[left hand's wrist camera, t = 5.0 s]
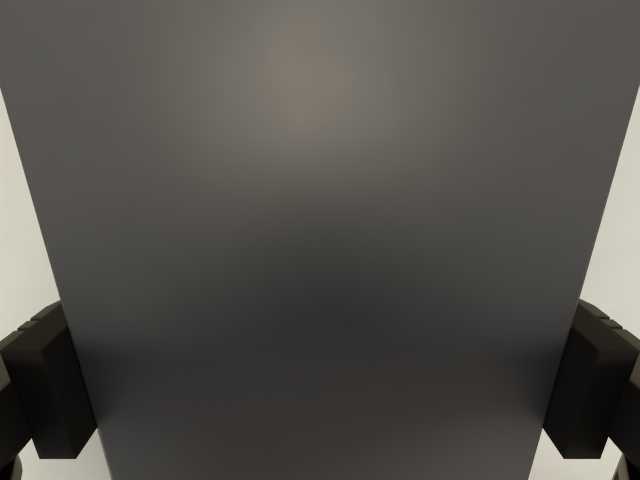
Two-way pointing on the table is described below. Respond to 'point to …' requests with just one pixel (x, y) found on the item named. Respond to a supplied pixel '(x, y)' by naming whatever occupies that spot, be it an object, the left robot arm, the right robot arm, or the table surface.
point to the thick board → (319, 221)
